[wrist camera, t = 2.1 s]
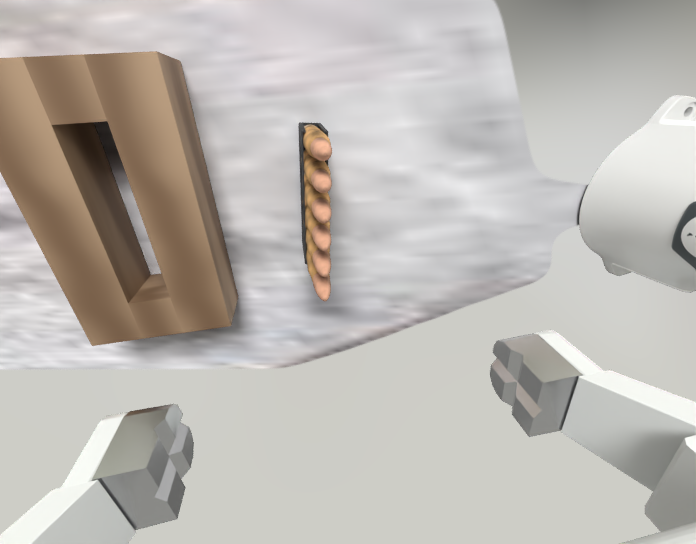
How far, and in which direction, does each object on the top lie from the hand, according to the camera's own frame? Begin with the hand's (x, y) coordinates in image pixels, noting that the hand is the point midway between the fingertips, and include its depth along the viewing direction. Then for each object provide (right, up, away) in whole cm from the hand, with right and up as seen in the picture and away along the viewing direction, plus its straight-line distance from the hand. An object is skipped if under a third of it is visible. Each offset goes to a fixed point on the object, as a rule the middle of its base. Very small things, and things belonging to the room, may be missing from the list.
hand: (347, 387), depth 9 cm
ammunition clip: (-3, +11, +21) cm, 24 cm away
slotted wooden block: (-17, +9, +19) cm, 27 cm away
